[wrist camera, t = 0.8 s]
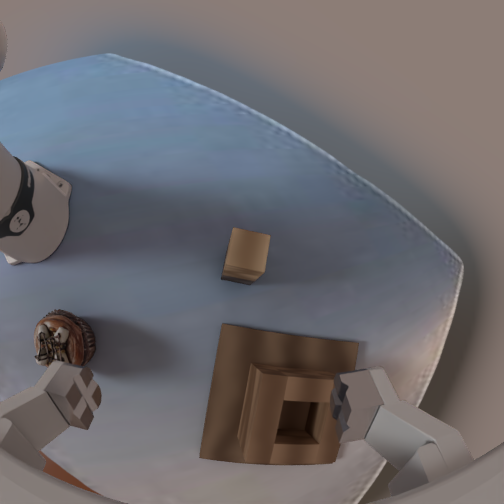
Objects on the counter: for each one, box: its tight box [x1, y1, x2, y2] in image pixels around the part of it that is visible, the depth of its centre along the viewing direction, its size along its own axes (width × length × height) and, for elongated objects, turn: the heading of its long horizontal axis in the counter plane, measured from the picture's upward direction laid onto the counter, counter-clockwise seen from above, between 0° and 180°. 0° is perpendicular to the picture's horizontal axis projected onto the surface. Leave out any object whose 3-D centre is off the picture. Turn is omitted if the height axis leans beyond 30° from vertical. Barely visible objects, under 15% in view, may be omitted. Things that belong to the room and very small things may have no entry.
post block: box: [200, 324, 359, 465], centre depth 34 cm, size 22×22×10 cm
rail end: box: [221, 227, 271, 285], centre depth 38 cm, size 4×4×11 cm
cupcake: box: [34, 309, 95, 367], centre depth 31 cm, size 10×10×10 cm
